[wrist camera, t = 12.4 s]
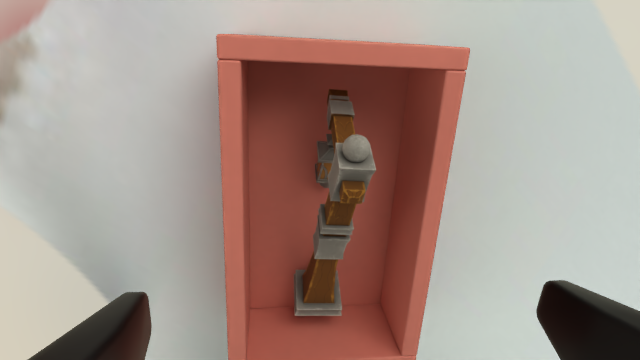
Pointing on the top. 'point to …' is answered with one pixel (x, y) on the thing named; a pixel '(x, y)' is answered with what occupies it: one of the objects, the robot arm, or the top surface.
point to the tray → (306, 195)
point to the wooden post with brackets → (334, 208)
